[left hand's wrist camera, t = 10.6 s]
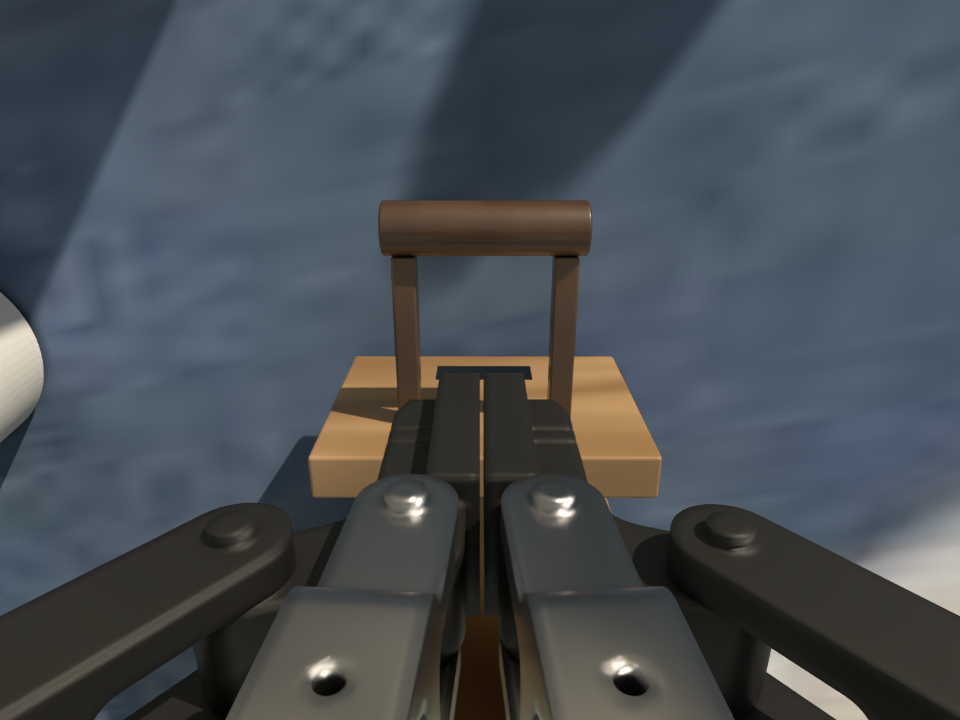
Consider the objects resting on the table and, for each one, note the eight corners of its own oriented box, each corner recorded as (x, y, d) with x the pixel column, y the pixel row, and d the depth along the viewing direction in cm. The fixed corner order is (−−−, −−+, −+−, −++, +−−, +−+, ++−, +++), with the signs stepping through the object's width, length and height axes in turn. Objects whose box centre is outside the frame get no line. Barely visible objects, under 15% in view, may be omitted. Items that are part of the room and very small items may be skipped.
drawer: (341, 176, 21) (280, 215, 14) (626, 176, 21) (691, 215, 14) (385, 775, 30) (360, 955, 24) (579, 775, 30) (606, 956, 24)
